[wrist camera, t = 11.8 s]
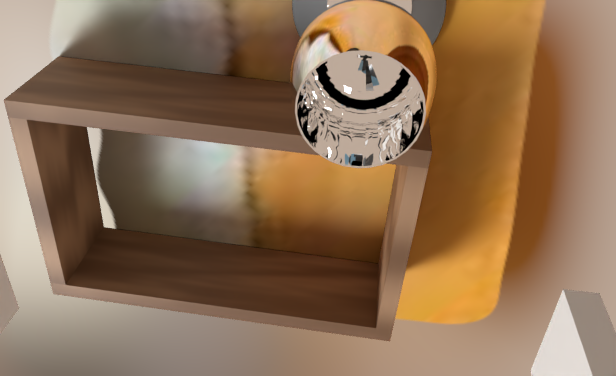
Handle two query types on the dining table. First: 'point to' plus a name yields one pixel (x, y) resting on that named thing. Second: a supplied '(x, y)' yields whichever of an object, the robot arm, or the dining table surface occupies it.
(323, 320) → the rectangular wooden frame
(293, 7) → the coaster
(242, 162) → the dining table surface
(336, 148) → the wineglass
